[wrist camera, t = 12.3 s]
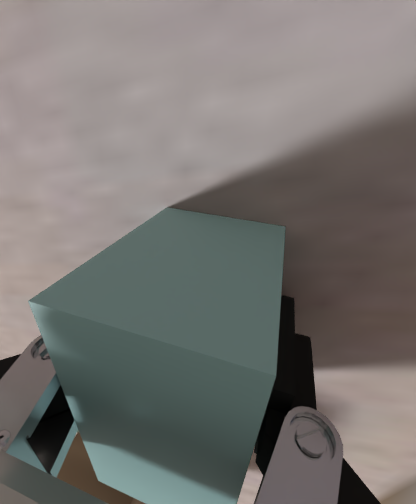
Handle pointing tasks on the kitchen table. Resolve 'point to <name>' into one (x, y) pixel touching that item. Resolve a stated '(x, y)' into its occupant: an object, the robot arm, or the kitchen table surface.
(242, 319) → the teal brick
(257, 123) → the kitchen table surface
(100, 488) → the walnut brick
